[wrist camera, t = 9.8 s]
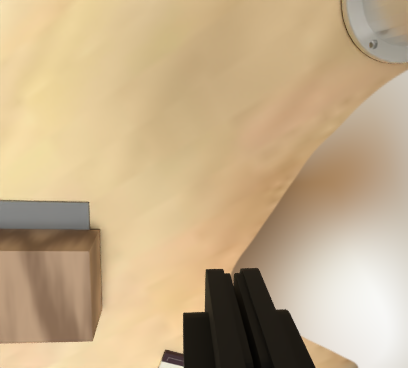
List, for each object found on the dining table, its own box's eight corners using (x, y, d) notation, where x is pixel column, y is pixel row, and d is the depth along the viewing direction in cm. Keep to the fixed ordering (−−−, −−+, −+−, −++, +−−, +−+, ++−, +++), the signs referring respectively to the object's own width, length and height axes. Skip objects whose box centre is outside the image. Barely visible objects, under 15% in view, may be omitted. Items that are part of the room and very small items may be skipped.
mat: (88, 202, 36) (84, 208, 34) (93, 330, 40) (89, 342, 38) (-66, 199, 34) (-80, 205, 32) (-44, 333, 38) (-55, 346, 36)
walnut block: (89, 251, 32) (-50, 250, 30) (92, 341, 34) (-35, 344, 33) (99, 229, 36) (-20, 228, 35) (101, 310, 39) (-10, 311, 38)
